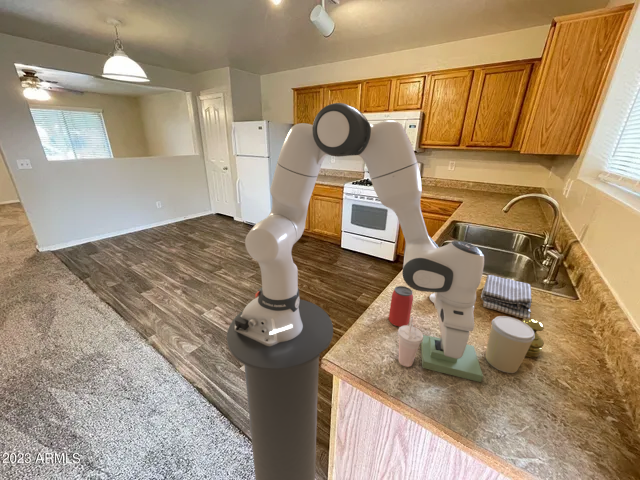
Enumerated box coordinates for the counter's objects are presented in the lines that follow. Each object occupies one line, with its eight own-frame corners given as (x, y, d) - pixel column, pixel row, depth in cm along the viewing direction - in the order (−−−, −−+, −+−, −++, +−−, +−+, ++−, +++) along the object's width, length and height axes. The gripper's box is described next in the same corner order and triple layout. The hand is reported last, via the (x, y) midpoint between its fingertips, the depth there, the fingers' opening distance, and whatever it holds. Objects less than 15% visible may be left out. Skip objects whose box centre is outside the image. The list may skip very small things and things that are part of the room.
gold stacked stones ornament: (541, 349, 78) (552, 321, 75) (536, 362, 73) (548, 333, 70) (511, 336, 83) (521, 309, 79) (505, 348, 78) (515, 320, 75)
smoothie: (409, 351, 76) (417, 310, 71) (422, 368, 70) (431, 325, 65) (389, 354, 75) (395, 312, 70) (400, 372, 69) (408, 328, 64)
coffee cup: (511, 352, 77) (524, 318, 72) (528, 378, 68) (544, 341, 64) (477, 346, 78) (487, 312, 74) (489, 372, 70) (501, 335, 65)
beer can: (406, 330, 84) (411, 298, 80) (385, 323, 87) (390, 292, 83) (410, 319, 90) (416, 288, 85) (391, 313, 93) (395, 283, 88)
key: (435, 354, 72) (436, 349, 71) (434, 345, 75) (435, 340, 75) (449, 357, 71) (451, 352, 70) (448, 348, 74) (449, 343, 74)
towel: (526, 298, 104) (532, 280, 101) (529, 322, 90) (536, 303, 87) (482, 286, 112) (487, 269, 109) (478, 306, 98) (483, 288, 95)
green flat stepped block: (422, 367, 70) (424, 356, 69) (420, 340, 80) (422, 329, 79) (481, 382, 67) (485, 370, 65) (471, 351, 76) (475, 340, 75)
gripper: (436, 282, 78) (428, 320, 83) (445, 324, 59) (434, 371, 64) (460, 285, 76) (450, 325, 81) (476, 331, 58) (462, 378, 63)
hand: (443, 346), depth 72 cm, fingers closed, pressing on key
